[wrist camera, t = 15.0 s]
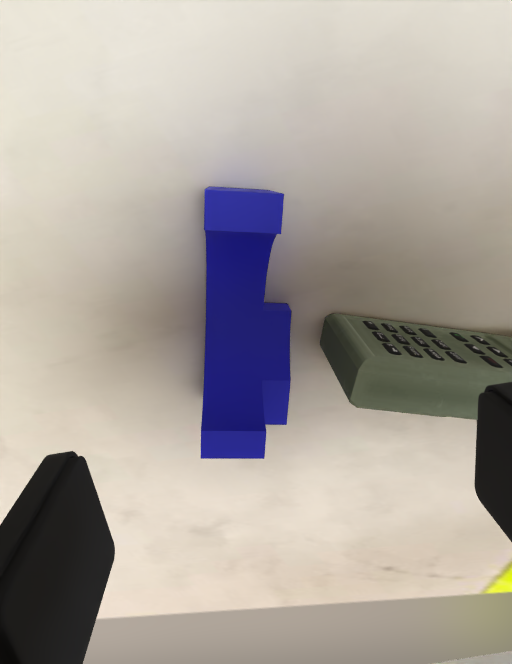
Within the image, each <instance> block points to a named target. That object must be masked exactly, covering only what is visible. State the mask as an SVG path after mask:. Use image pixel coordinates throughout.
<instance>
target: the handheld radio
mask: <svg viewBox="0 0 512 664" xmlns="http://www.w3.org/2000/svg"><path fill="white" fill-rule="evenodd" d="M320 345H321V348H322V349H323V351H324V353H325V355H326V357H327V359H328V361H329V363H330V365H331V367H332V369H333V371H334V373H335V375H336V377H337V379H338V380H339V382H340V384H341V386H342V388H343V390H344V392H345V394H346V396H347V398H348V400H349V402H350V403H351V404H352V405H354V406H356V407H357V408H365V409H374V410H384V411H393V412H402V413H411V414H420V415H430V416H439V417H457V418H466V419H475V420H477V416H478V397H479V395H480V394H481V393H483V392H484V391H485V388H486V387H487V386H488V385H494V384H500V383H507V382H512V337H509V336H502V335H495V334H487V333H480V332H472V331H465V330H457V329H449V328H442V327H434V326H427V325H419V324H411V323H404V322H396V321H389V320H381V319H373V318H366V317H358V316H351V315H343V314H331V315H329V316H327V317H326V318H325V321H324V326H323V330H322V335H321V340H320Z"/></svg>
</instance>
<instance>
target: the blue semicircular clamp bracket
mask: <svg viewBox="0 0 512 664" xmlns="http://www.w3.org/2000/svg"><path fill="white" fill-rule="evenodd" d="M283 199H284V194H282V193H278V192H274V191H270V190H260V189H243V188H226V187H208V188H206V189H205V213H204V230H205V233H206V264H207V277H206V336H205V368H204V391H203V411H202V426H201V458H263V459H264V455H265V441H266V426H265V424H268V425H286V424H287V413H288V402H289V391H290V324H291V309H290V308H289V306H288V304H287V303H264V295H265V285H266V276H267V269H268V262H269V257H270V252H271V248H272V244H273V241H274V239H275V237H276V235H277V234H281V226H282V213H283Z"/></svg>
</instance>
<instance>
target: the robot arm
mask: <svg viewBox="0 0 512 664" xmlns="http://www.w3.org/2000/svg"><path fill="white" fill-rule="evenodd" d="M475 490H476V494H477V496H478V498H479V500H480V502H481V503H482V504H483V506H484V507H485V508H486V509H487V511H488V512H489V513H490V515H491V516H492V517H493V518H494V520H495V521H496V522H497V524H498V525H499V526H500V527H501V529H502V530H503V531H504V533H505V534H506V535H507V537H508V538H509V539H510V540H511V542H512V382H507V383H500V384H494V385H488V386H487V387H486V388H485V391H484V392H483V393H481V394H480V395H479V397H478V416H477V440H476V465H475ZM114 555H115V547H114V542H113V539H112V536H111V533H110V530H109V527H108V524H107V521H106V518H105V515H104V512H103V510H102V507H101V504H100V501H99V498H98V495H97V492H96V489H95V486H94V483H93V480H92V477H91V474H90V471H89V468H88V465H87V463H86V460H85V458H84V457H82V456H79V457H78V456H77V454H76V453H75V452H73V451H70V452H64V453H58V454H51V455H48V456H46V457H45V458H44V460H43V461H42V463H41V464H40V466H39V467H38V469H37V470H36V472H35V473H34V475H33V476H32V478H31V479H30V481H29V482H28V484H27V485H26V487H25V488H24V490H23V492H22V493H21V495H20V496H19V498H18V499H17V501H16V502H15V504H14V505H13V507H12V508H11V510H10V511H9V513H8V514H7V516H6V517H5V519H4V520H3V522H2V523H1V525H0V664H83V661H84V657H85V654H86V651H87V647H88V644H89V641H90V637H91V634H92V630H93V627H94V624H95V621H96V617H97V614H98V611H99V607H100V604H101V601H102V597H103V594H104V591H105V588H106V584H107V581H108V578H109V574H110V571H111V568H112V564H113V561H114ZM431 664H512V651H509V652H502V653H496V654H489V655H483V656H476V657H470V658H464V659H457V660H451V661H445V662H438V663H431Z"/></svg>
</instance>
